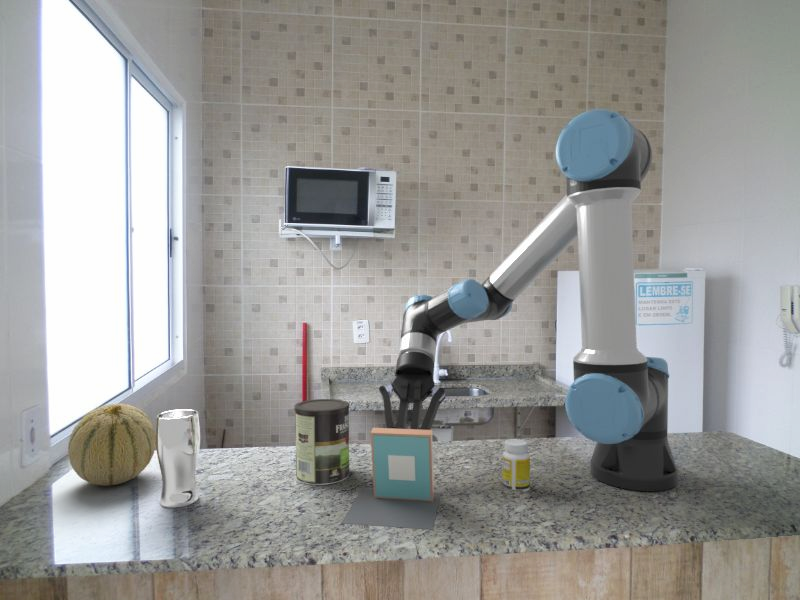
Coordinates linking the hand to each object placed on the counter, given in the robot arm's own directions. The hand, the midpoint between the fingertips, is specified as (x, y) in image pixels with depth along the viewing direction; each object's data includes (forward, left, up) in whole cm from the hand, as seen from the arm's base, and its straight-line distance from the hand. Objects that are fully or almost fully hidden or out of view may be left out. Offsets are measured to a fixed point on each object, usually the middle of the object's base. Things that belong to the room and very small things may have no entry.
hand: (402, 472), depth 93 cm
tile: (0, +1, -4) cm, 4 cm away
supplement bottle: (-19, -7, -5) cm, 21 cm away
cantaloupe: (+55, +1, -5) cm, 55 cm away
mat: (+1, +5, -4) cm, 7 cm away
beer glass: (+38, +7, -5) cm, 38 cm away
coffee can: (+17, -7, -5) cm, 19 cm away
